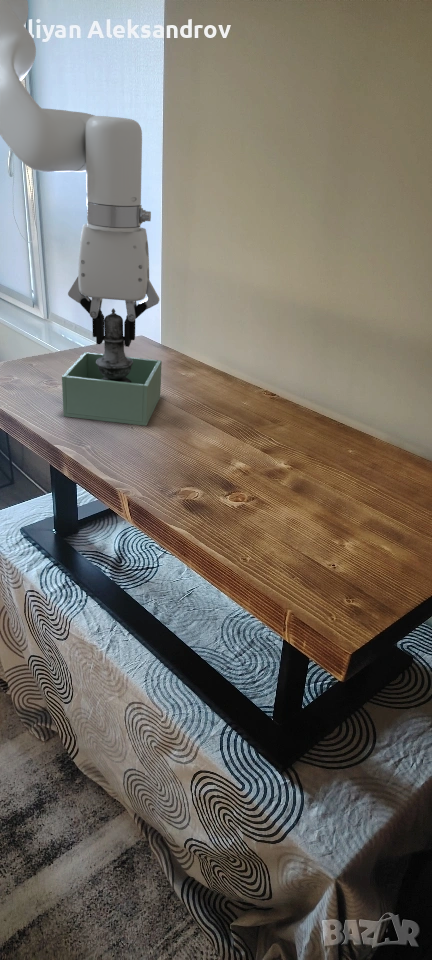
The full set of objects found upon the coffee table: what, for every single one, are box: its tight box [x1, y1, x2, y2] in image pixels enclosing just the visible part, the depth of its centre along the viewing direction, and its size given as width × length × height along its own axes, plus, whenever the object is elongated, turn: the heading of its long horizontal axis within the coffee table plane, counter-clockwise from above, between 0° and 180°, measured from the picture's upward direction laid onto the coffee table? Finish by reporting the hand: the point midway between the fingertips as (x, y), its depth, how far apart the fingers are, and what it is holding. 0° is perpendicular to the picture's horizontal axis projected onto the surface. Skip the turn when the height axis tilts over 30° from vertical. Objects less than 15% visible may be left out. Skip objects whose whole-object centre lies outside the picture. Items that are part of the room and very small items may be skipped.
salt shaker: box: [96, 308, 133, 383], centre depth 98 cm, size 6×6×12 cm
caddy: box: [61, 351, 163, 427], centre depth 101 cm, size 13×12×7 cm
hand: (114, 341), depth 98 cm, fingers closed on salt shaker, 3 cm apart
